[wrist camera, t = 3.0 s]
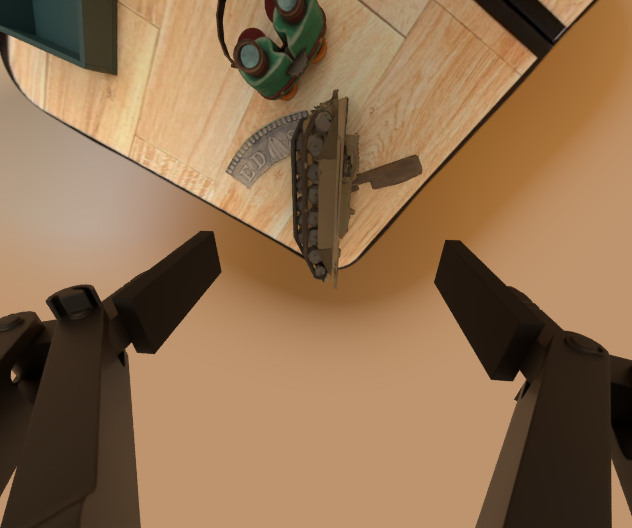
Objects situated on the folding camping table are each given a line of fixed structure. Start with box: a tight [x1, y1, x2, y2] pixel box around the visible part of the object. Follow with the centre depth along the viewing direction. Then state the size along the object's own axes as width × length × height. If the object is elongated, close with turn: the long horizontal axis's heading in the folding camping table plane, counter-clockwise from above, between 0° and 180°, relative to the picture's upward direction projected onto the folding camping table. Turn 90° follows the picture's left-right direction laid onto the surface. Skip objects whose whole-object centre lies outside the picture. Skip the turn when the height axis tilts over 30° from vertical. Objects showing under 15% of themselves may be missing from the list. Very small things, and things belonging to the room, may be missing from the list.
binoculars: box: [216, 0, 327, 101], centre depth 22 cm, size 9×11×10 cm
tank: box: [291, 89, 367, 289], centre depth 30 cm, size 9×22×10 cm
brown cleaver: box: [351, 155, 422, 192], centre depth 32 cm, size 12×3×1 cm, turn 109°
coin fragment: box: [226, 111, 309, 189], centre depth 31 cm, size 13×5×1 cm, turn 121°
